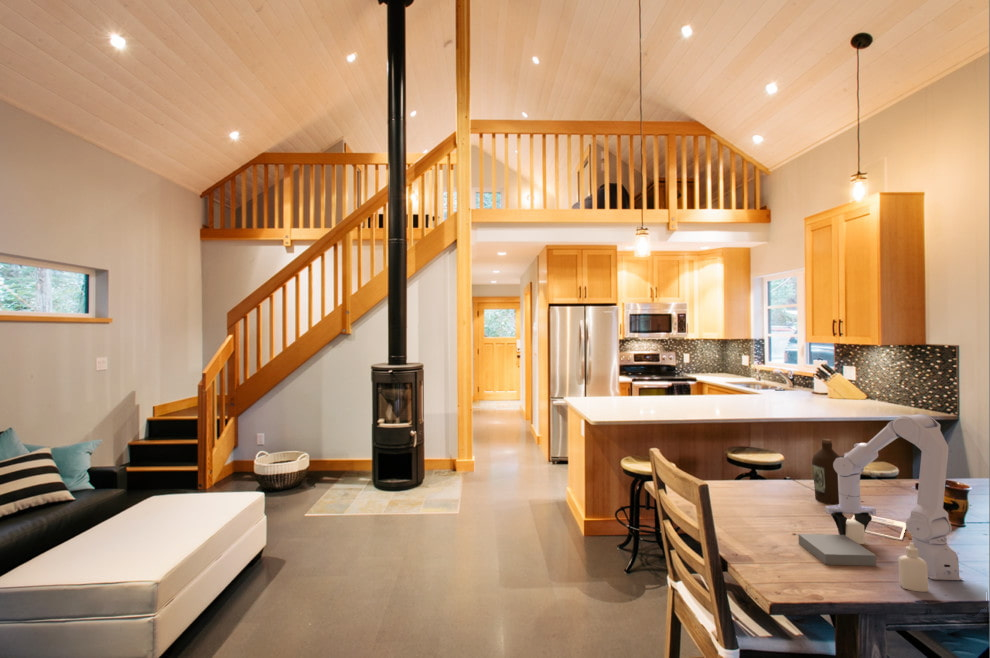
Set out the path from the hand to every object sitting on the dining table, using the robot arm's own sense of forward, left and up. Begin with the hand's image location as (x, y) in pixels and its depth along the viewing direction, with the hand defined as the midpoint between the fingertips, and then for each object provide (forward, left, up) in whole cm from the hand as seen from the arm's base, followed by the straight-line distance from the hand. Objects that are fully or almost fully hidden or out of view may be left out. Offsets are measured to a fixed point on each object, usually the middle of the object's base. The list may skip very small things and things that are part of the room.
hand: (851, 535), depth 149 cm
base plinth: (-10, +11, -2) cm, 15 cm away
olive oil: (+37, -15, -2) cm, 40 cm away
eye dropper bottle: (-29, +3, -2) cm, 29 cm away
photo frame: (+12, -16, -2) cm, 20 cm away
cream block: (0, 0, -2) cm, 2 cm away
